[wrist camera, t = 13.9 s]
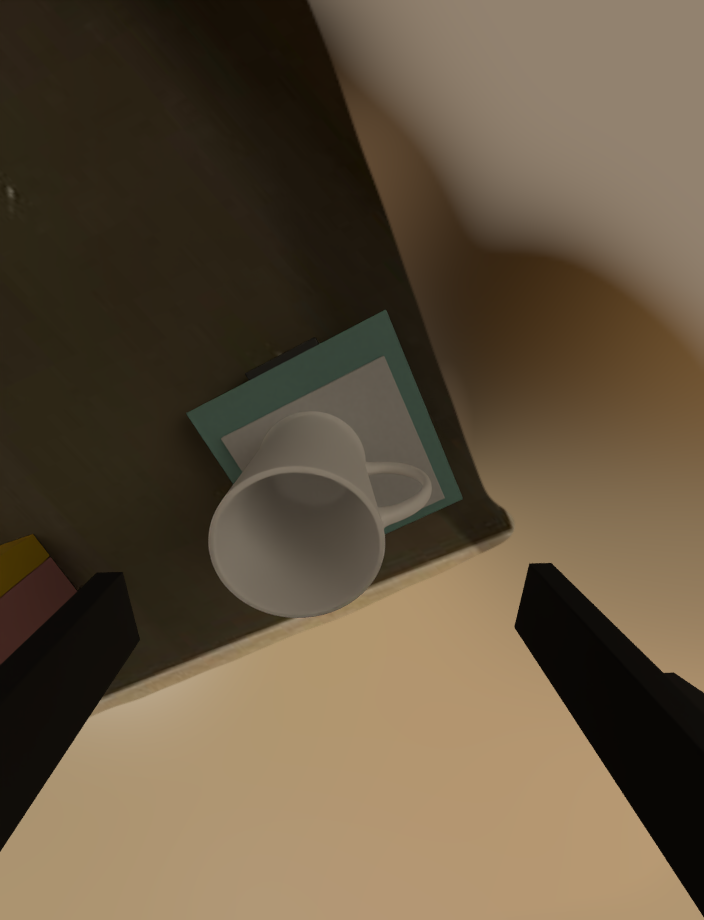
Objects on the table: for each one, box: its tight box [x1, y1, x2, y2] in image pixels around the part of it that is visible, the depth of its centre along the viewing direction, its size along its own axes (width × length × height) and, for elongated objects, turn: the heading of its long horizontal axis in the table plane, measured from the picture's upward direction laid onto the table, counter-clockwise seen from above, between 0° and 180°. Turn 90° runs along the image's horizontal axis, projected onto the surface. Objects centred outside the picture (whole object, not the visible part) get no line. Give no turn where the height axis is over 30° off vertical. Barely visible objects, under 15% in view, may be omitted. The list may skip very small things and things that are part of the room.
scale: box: [186, 310, 463, 534], centre depth 28 cm, size 17×18×3 cm
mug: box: [208, 411, 432, 618], centre depth 20 cm, size 12×8×12 cm
